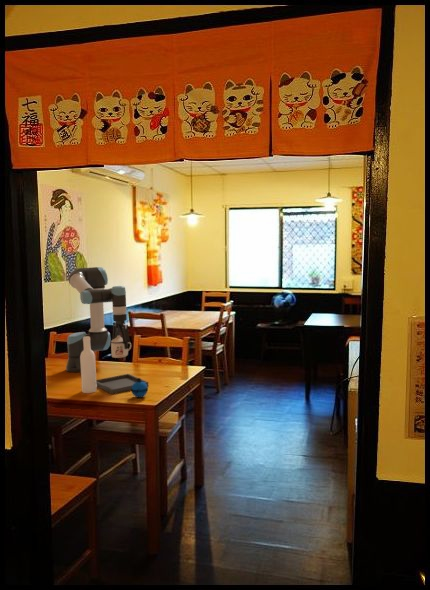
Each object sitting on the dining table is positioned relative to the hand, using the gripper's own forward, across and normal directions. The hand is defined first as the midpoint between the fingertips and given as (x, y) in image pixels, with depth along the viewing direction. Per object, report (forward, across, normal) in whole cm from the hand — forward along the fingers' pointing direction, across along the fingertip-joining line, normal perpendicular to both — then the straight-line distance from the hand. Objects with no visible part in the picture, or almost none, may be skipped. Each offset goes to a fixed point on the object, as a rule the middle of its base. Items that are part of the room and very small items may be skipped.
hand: (121, 353), depth 283 cm
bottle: (+18, 0, +20) cm, 27 cm away
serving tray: (+18, -2, +3) cm, 18 cm away
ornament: (+18, -28, +5) cm, 34 cm away
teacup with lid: (+2, 0, 0) cm, 2 cm away
